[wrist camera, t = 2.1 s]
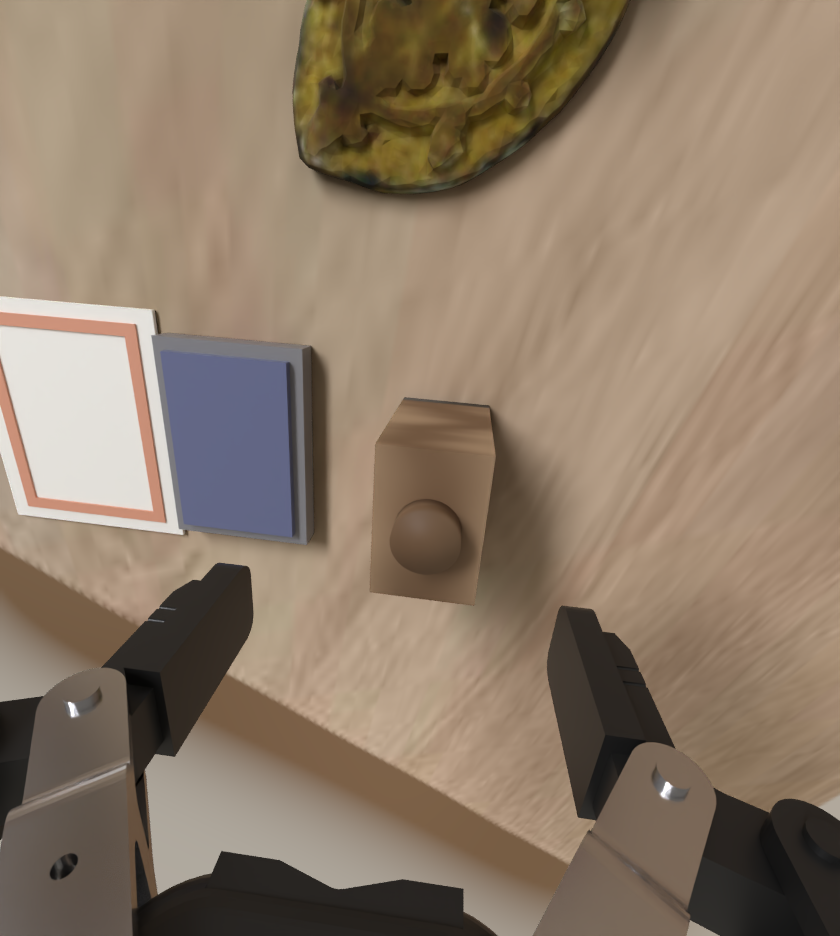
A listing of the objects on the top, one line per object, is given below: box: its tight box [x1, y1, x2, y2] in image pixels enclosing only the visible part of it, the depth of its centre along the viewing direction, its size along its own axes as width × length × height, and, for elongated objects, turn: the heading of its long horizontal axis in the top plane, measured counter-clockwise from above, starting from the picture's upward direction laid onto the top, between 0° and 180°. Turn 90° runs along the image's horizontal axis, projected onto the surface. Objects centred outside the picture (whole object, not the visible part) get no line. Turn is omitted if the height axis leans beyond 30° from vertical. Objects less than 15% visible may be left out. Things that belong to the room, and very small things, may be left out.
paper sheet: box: [0, 296, 185, 535], centre depth 24 cm, size 10×12×1 cm
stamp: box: [370, 397, 496, 606], centre depth 19 cm, size 4×6×8 cm, turn 176°
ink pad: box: [151, 333, 314, 545], centre depth 23 cm, size 7×10×2 cm
